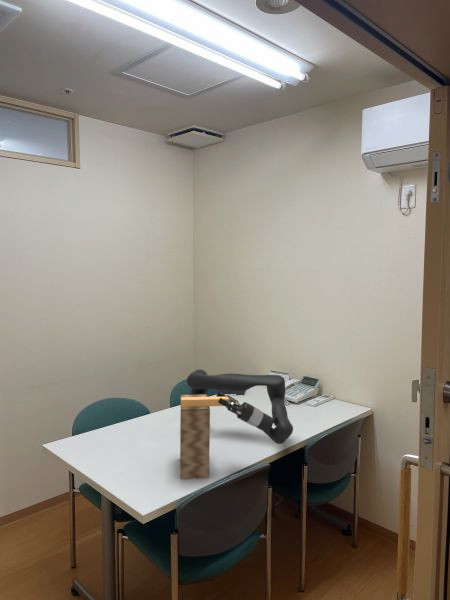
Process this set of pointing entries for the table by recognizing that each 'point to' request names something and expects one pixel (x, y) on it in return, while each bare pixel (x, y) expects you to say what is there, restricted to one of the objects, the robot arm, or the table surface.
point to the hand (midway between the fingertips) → (218, 396)
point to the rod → (201, 401)
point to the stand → (194, 441)
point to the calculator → (233, 392)
